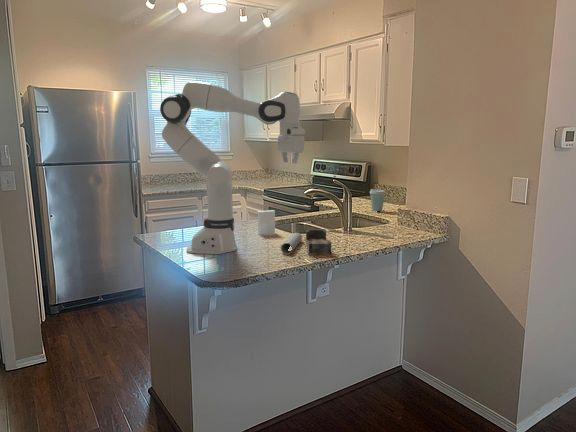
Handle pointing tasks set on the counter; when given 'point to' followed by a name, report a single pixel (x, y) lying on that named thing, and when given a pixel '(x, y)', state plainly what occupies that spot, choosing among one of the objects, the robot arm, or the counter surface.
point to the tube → (291, 243)
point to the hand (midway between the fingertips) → (289, 162)
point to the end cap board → (317, 242)
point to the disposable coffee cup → (377, 199)
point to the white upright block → (266, 222)
